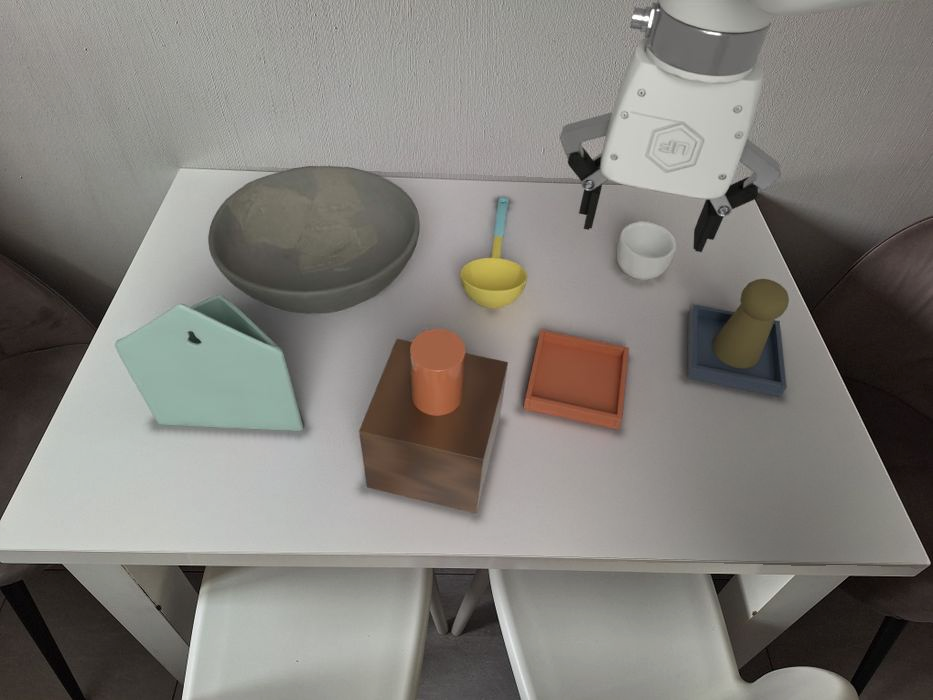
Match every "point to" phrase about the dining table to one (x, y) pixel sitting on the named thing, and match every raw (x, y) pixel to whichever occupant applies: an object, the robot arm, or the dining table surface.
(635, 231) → the teacup
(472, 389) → the block
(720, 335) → the pepper shaker
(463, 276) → the ladle
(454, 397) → the terracotta jar
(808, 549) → the dining table surface
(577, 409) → the terracotta tray
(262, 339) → the planter
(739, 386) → the slate tray
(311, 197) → the bowl
